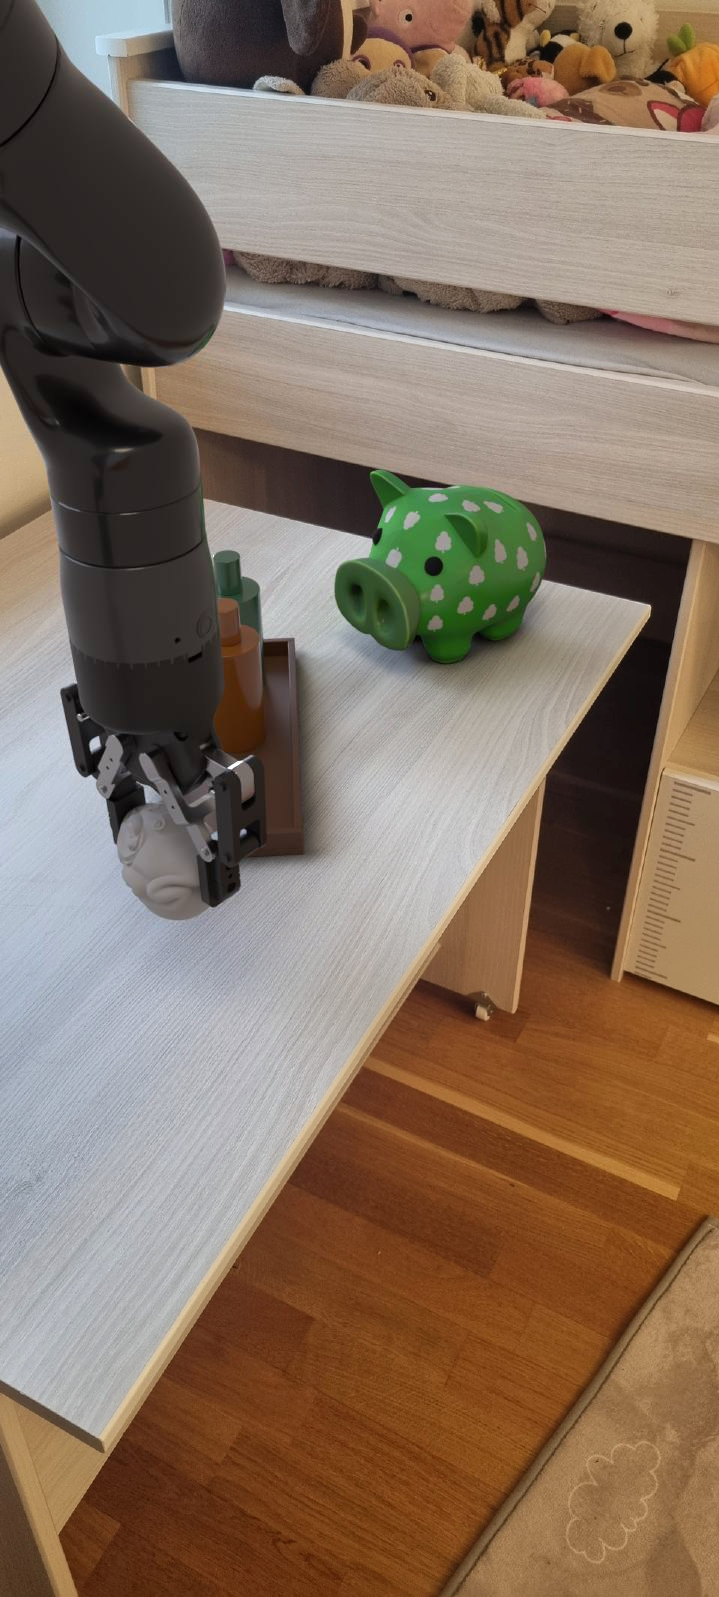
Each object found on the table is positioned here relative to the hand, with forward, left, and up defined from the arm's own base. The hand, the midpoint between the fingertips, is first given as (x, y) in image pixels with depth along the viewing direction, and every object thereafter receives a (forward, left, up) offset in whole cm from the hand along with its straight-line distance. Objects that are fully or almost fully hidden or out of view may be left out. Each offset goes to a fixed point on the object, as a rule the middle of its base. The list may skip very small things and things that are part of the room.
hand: (175, 868), depth 70 cm
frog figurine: (0, 0, -3) cm, 3 cm away
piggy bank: (+45, +15, -11) cm, 49 cm away
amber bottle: (+21, +18, -10) cm, 29 cm away
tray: (+20, +17, -10) cm, 28 cm away
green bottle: (+27, +23, -10) cm, 37 cm away
